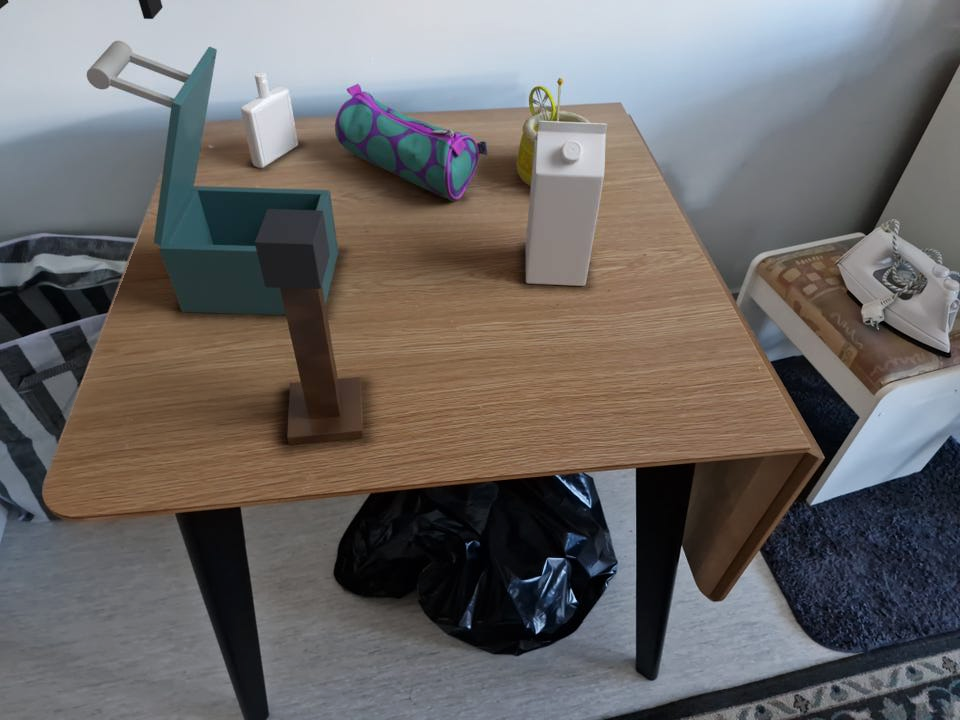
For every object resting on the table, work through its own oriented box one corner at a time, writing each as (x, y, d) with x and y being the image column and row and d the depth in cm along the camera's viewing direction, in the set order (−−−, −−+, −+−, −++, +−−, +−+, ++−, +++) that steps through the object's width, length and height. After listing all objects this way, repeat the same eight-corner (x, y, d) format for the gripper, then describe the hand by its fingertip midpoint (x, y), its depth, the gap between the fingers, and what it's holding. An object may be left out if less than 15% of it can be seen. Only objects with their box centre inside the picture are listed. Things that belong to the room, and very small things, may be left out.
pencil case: (486, 185, 101) (489, 121, 94) (447, 214, 96) (447, 148, 89) (375, 138, 109) (370, 75, 102) (333, 162, 104) (325, 98, 97)
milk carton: (525, 248, 91) (538, 104, 77) (581, 250, 91) (604, 107, 77) (525, 284, 86) (539, 138, 72) (585, 287, 86) (610, 141, 72)
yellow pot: (596, 200, 99) (609, 118, 90) (516, 198, 99) (522, 115, 90) (588, 152, 108) (600, 73, 99) (515, 149, 108) (520, 70, 99)
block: (321, 289, 57) (313, 244, 54) (265, 287, 57) (254, 242, 54) (330, 254, 60) (323, 210, 57) (277, 253, 60) (267, 208, 57)
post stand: (288, 445, 69) (250, 302, 56) (291, 390, 73) (257, 247, 60) (363, 438, 69) (342, 295, 56) (361, 384, 74) (341, 242, 61)
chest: (338, 252, 89) (329, 189, 83) (322, 316, 81) (311, 252, 75) (210, 248, 89) (192, 185, 83) (181, 312, 81) (158, 248, 75)
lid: (217, 49, 72) (123, 12, 69) (181, 105, 63) (73, 65, 61) (194, 183, 83) (113, 155, 80) (161, 245, 74) (69, 216, 72)
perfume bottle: (262, 169, 102) (244, 87, 93) (251, 165, 103) (233, 83, 94) (299, 145, 107) (286, 65, 98) (289, 141, 108) (275, 61, 99)
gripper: (162, -320, 51) (229, -1, 66) (-195, -333, 51) (-46, -10, 66) (124, -313, 46) (206, 32, 61) (-275, -328, 45) (-93, 22, 60)
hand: (75, 11), depth 63 cm, fingers open, 13 cm apart
